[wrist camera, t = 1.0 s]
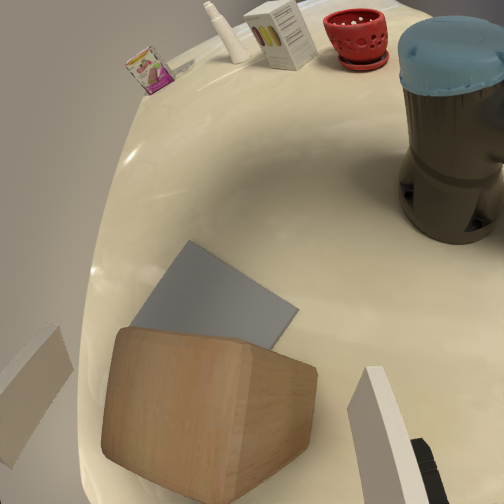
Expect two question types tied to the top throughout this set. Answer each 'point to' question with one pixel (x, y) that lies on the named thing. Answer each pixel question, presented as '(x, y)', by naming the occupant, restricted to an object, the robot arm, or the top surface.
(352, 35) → the plant pot
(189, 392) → the wooden block
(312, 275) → the top surface
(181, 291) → the mat
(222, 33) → the cosmetic bottle
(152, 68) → the candy bar box
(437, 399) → the top surface
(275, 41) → the supplement box
